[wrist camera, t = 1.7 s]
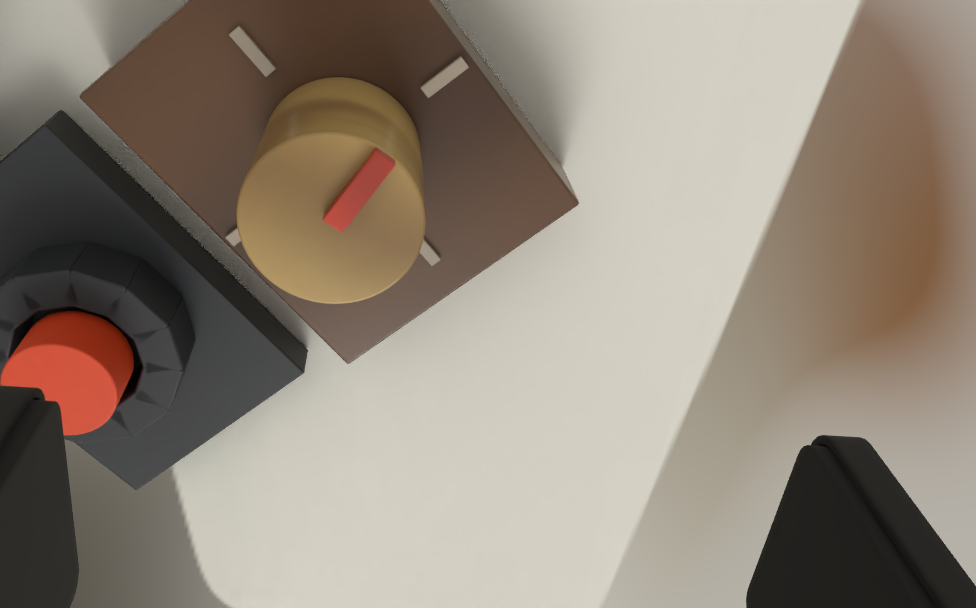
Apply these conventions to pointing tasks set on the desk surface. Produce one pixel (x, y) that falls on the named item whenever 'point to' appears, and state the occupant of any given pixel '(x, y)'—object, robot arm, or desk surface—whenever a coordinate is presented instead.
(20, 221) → the switch box
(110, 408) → the power button
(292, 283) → the dimmer knob
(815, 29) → the desk surface
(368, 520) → the desk surface
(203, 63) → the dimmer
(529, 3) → the desk surface
